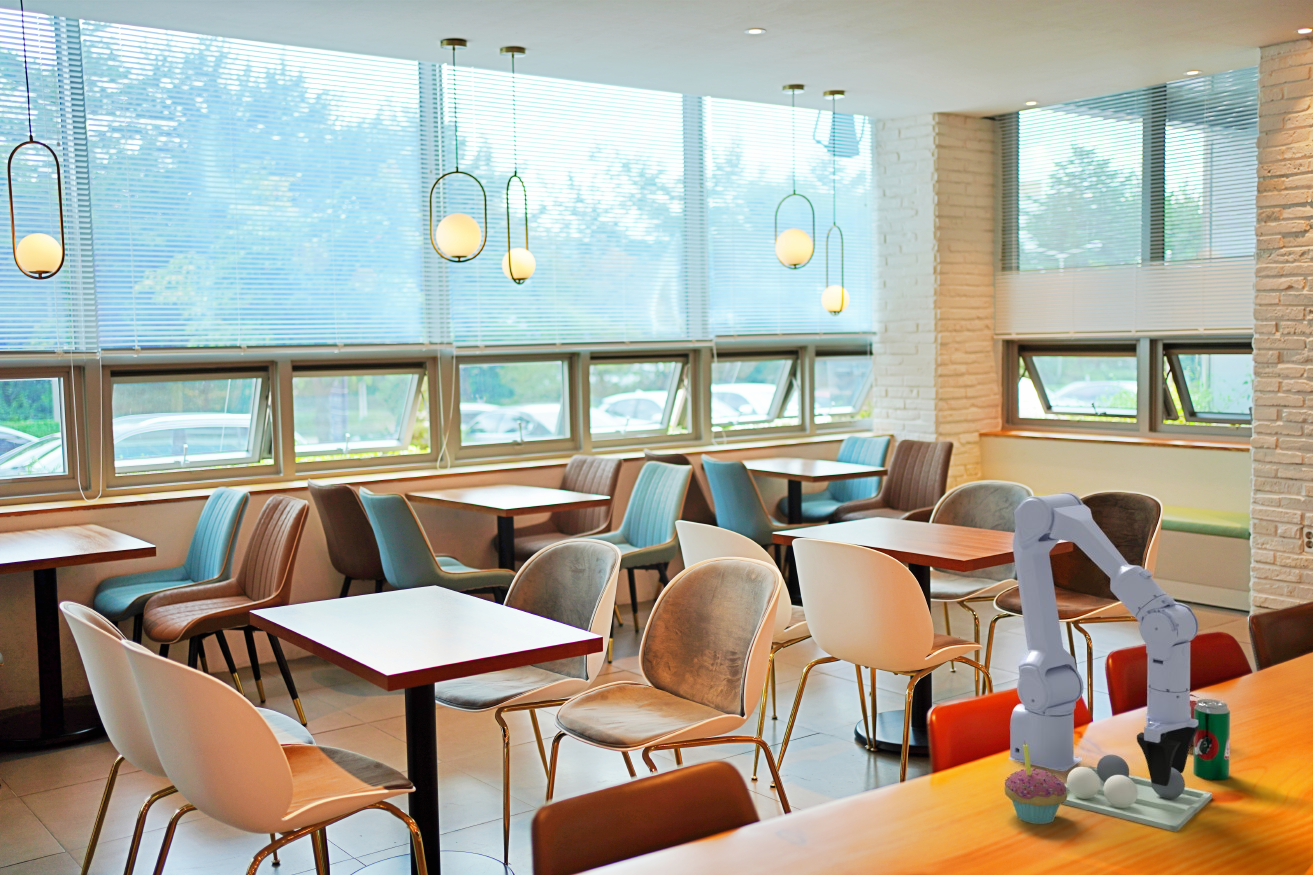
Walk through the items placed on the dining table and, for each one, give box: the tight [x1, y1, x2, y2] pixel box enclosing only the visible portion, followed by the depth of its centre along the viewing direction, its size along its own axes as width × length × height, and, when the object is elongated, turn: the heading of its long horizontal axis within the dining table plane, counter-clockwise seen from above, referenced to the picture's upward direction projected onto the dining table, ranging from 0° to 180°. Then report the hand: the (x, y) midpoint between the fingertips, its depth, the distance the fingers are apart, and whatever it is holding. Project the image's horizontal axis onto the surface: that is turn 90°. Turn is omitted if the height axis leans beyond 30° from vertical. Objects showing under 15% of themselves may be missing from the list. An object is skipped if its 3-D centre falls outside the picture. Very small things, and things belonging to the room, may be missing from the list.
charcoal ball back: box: [1096, 754, 1130, 783], centre depth 172 cm, size 5×5×5 cm
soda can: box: [1192, 698, 1231, 782], centre depth 176 cm, size 5×5×12 cm
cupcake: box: [1004, 740, 1067, 825], centre depth 161 cm, size 9×8×12 cm
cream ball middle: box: [1103, 775, 1138, 808], centre depth 164 cm, size 5×5×5 cm
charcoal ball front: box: [1151, 767, 1186, 799], centre depth 167 cm, size 5×5×5 cm
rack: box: [1061, 766, 1213, 833], centre depth 167 cm, size 18×16×1 cm
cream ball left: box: [1066, 766, 1100, 799], centre depth 167 cm, size 5×5×5 cm
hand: (1167, 777), depth 167 cm, fingers open, 6 cm apart
